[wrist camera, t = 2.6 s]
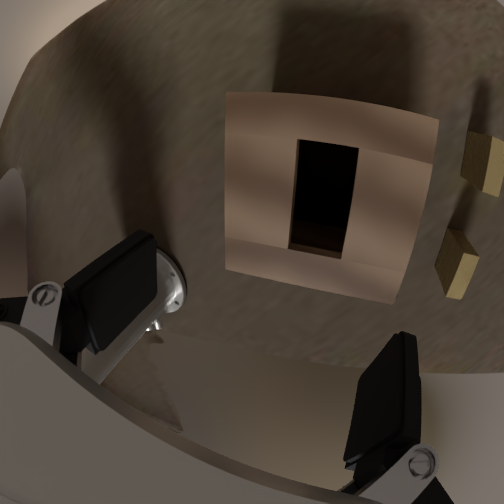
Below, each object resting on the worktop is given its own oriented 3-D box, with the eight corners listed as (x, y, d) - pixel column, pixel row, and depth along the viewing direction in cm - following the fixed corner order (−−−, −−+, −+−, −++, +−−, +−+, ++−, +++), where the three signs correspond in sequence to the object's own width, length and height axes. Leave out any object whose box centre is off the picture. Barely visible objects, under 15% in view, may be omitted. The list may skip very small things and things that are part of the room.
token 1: (448, 269, 27) (461, 299, 22) (434, 266, 28) (445, 296, 23) (461, 231, 25) (479, 256, 20) (447, 227, 25) (463, 252, 20)
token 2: (475, 180, 22) (498, 197, 17) (460, 175, 22) (482, 191, 17) (482, 136, 19) (508, 143, 14) (467, 130, 20) (492, 136, 15)
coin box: (384, 243, 29) (393, 304, 20) (264, 220, 33) (225, 269, 24) (407, 117, 22) (439, 119, 13) (270, 98, 26) (225, 91, 17)
